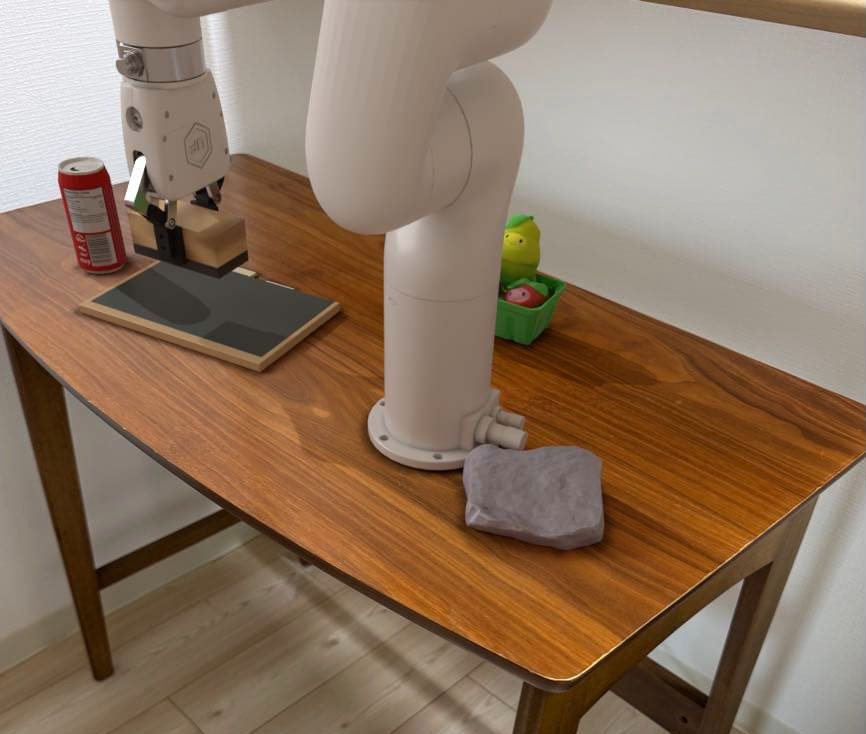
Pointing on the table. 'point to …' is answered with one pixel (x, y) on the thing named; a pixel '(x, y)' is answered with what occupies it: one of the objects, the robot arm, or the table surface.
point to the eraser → (197, 239)
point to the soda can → (92, 214)
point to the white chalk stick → (280, 285)
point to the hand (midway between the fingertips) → (191, 249)
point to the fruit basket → (524, 284)
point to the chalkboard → (213, 312)
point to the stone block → (536, 494)
